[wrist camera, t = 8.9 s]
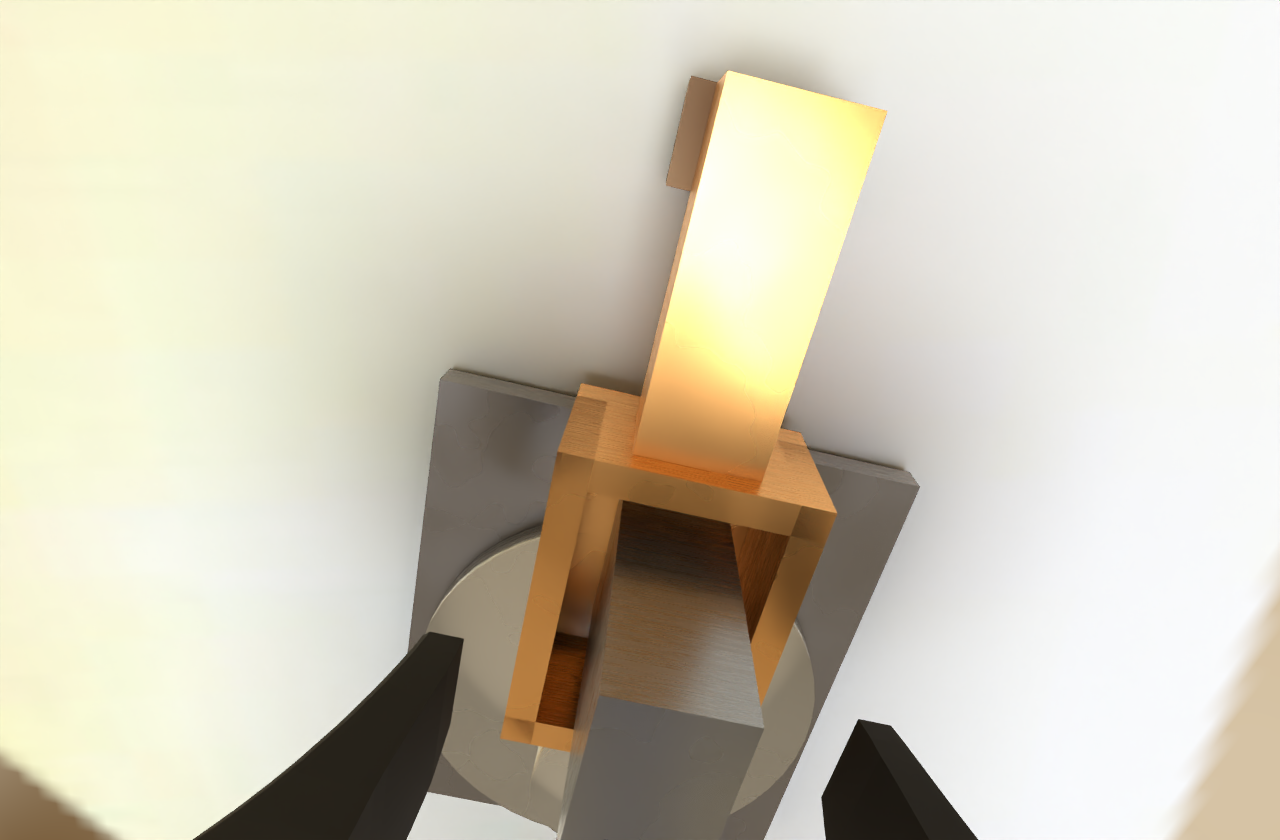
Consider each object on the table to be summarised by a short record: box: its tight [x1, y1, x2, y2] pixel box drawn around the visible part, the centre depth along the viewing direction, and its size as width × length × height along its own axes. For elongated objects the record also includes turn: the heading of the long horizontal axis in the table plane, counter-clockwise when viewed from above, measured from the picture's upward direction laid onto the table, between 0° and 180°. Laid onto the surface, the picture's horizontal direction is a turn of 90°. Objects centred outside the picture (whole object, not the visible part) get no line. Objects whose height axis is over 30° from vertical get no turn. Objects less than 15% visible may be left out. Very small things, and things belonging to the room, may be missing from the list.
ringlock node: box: [408, 71, 920, 840], centre depth 16 cm, size 22×12×5 cm, turn 167°
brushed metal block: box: [556, 499, 764, 840], centre depth 14 cm, size 4×2×7 cm, turn 167°
